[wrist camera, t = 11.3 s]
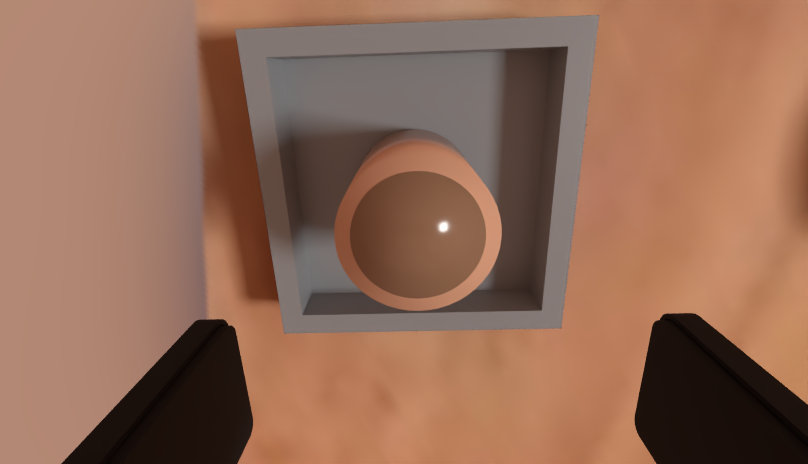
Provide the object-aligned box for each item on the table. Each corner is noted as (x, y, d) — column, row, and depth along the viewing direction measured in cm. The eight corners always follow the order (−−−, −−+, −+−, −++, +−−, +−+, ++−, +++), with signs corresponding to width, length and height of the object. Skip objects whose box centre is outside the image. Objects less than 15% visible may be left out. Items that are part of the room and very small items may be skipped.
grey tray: (570, 24, 21) (599, 14, 18) (542, 297, 27) (561, 328, 24) (261, 36, 22) (235, 29, 18) (299, 302, 27) (284, 333, 24)
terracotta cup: (472, 127, 22) (507, 152, 15) (468, 238, 24) (497, 310, 17) (353, 130, 22) (326, 156, 15) (360, 240, 24) (340, 312, 17)
